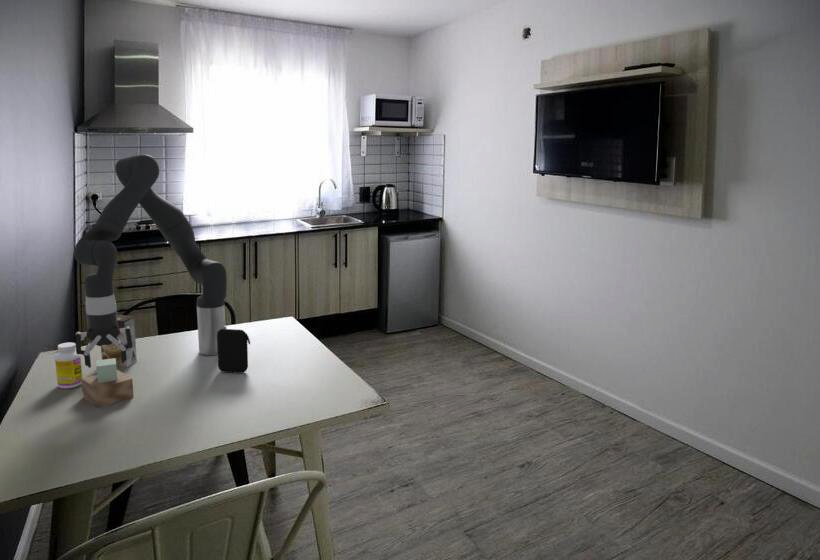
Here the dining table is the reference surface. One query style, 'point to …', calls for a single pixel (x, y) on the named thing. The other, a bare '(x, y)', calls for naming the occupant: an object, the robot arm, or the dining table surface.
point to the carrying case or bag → (232, 350)
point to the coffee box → (115, 351)
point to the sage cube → (106, 370)
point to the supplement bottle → (68, 366)
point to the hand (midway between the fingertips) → (106, 364)
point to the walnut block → (107, 390)
